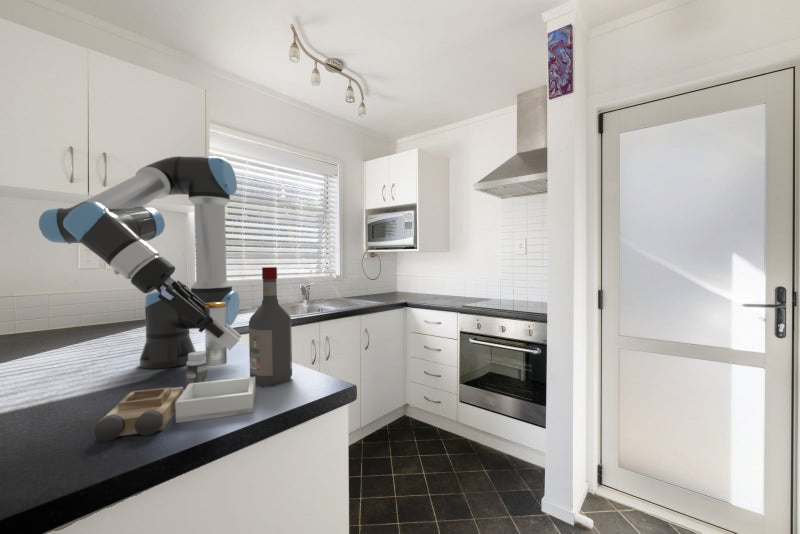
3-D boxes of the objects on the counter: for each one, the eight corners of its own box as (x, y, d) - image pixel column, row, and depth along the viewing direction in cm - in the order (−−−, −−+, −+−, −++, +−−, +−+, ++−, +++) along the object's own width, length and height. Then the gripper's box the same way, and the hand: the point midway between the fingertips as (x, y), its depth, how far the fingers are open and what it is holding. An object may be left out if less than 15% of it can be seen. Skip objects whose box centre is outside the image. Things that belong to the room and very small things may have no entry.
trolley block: (131, 405, 80) (131, 385, 80) (183, 399, 84) (183, 380, 84) (94, 442, 64) (93, 417, 64) (160, 433, 67) (160, 409, 67)
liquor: (265, 389, 90) (263, 267, 90) (246, 382, 96) (243, 267, 95) (296, 379, 97) (294, 266, 97) (276, 373, 103) (274, 267, 102)
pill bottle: (182, 386, 92) (181, 354, 92) (200, 381, 97) (199, 349, 97) (194, 389, 90) (193, 356, 90) (211, 384, 94) (211, 351, 94)
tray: (189, 401, 83) (189, 383, 83) (255, 393, 87) (255, 376, 87) (175, 423, 71) (175, 402, 71) (252, 412, 76) (252, 393, 76)
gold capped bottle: (207, 362, 79) (206, 302, 79) (228, 360, 81) (227, 301, 81) (203, 367, 76) (202, 304, 75) (225, 365, 77) (224, 303, 77)
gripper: (144, 279, 81) (227, 347, 87) (112, 283, 65) (216, 366, 70) (171, 255, 83) (251, 324, 88) (146, 253, 67) (245, 336, 72)
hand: (235, 342), depth 79 cm, fingers closed on gold capped bottle, 4 cm apart
